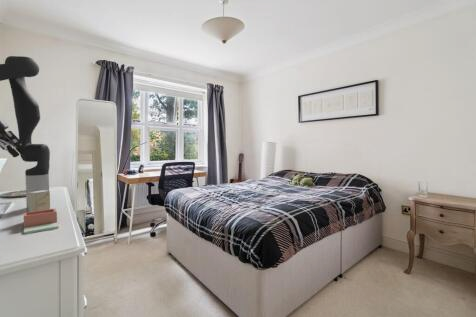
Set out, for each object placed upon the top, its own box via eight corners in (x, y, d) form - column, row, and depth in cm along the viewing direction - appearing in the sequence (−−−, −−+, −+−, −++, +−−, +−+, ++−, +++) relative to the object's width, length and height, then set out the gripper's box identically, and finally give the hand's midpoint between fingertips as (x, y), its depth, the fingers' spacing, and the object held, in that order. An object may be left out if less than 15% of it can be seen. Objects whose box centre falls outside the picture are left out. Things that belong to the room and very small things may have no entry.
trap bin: (24, 224, 95) (24, 212, 95) (55, 219, 101) (55, 208, 101) (24, 229, 89) (23, 216, 89) (57, 223, 96) (56, 211, 96)
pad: (24, 229, 89) (24, 227, 89) (57, 224, 95) (57, 222, 95) (23, 234, 84) (23, 232, 84) (58, 228, 91) (58, 226, 91)
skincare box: (36, 221, 100) (35, 192, 99) (28, 220, 101) (27, 192, 100) (51, 216, 106) (50, 190, 105) (43, 216, 107) (42, 189, 106)
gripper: (5, 114, 92) (37, 148, 99) (-7, 120, 99) (23, 152, 106) (-17, 123, 86) (18, 158, 94) (-28, 129, 93) (5, 161, 101)
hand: (21, 155), depth 100 cm, fingers open, 8 cm apart
